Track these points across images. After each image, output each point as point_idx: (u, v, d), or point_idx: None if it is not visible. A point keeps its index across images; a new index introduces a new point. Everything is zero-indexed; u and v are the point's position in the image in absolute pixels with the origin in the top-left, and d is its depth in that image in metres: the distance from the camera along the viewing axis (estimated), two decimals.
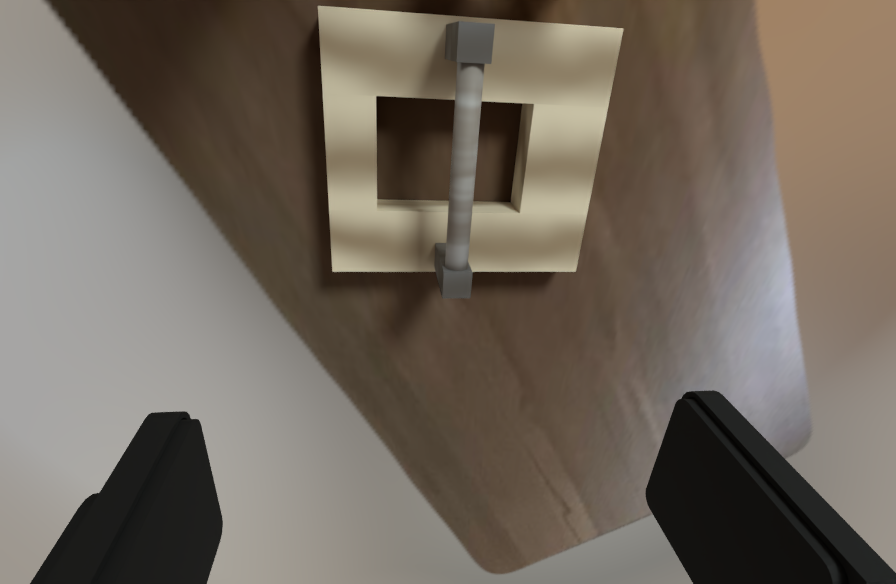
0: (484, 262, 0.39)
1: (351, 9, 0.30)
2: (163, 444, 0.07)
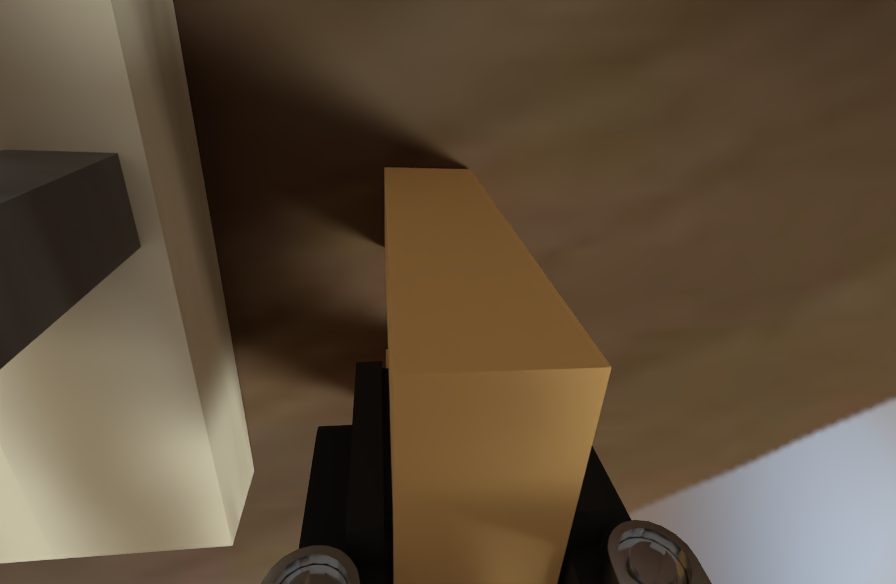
0: None
1: None
2: (380, 384, 0.09)
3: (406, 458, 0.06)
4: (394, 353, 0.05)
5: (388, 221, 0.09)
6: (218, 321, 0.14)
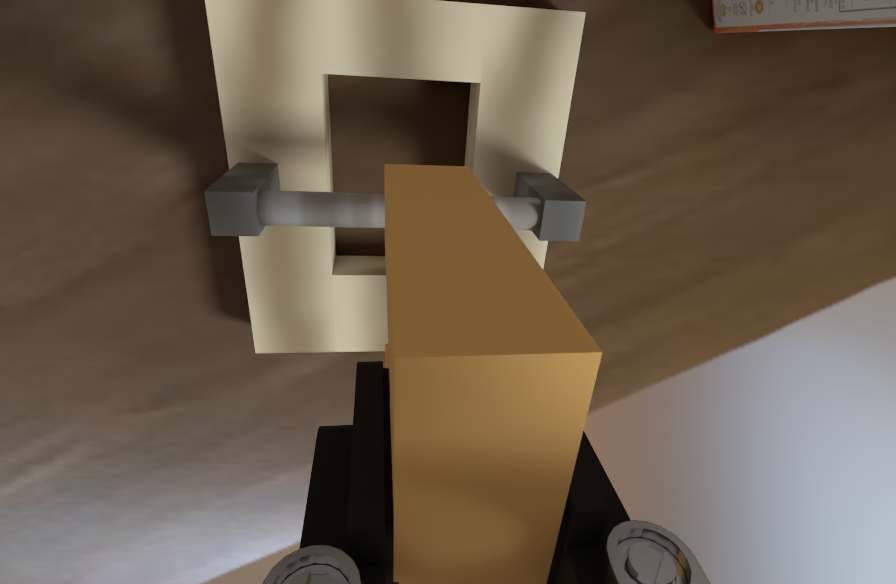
0: (254, 236, 0.27)
1: (576, 57, 0.25)
2: (380, 384, 0.09)
3: (406, 439, 0.06)
4: (395, 338, 0.06)
5: (388, 215, 0.10)
6: None
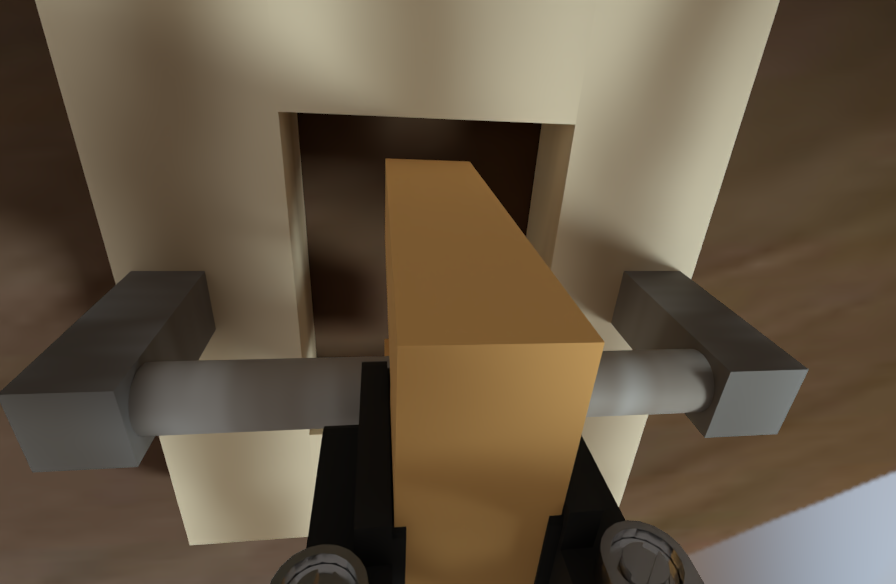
0: None
1: (752, 76, 0.14)
2: (385, 384, 0.09)
3: (407, 429, 0.06)
4: (397, 327, 0.06)
5: (390, 208, 0.10)
6: None
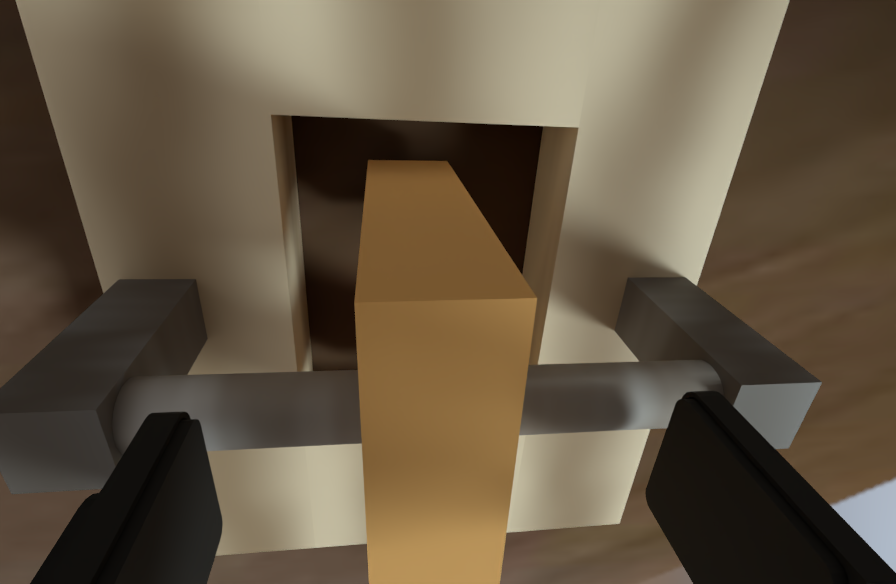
0: None
1: (761, 78, 0.13)
2: (163, 444, 0.07)
3: (369, 379, 0.07)
4: (356, 289, 0.07)
5: (365, 200, 0.10)
6: None
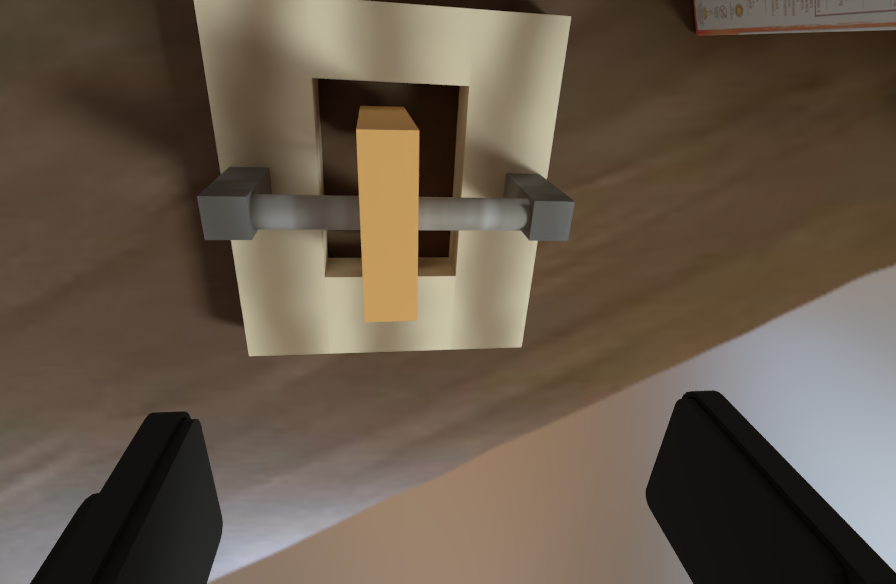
0: (246, 239, 0.27)
1: (563, 60, 0.25)
2: (163, 444, 0.07)
3: (361, 161, 0.19)
4: (356, 128, 0.19)
5: (359, 115, 0.23)
6: None
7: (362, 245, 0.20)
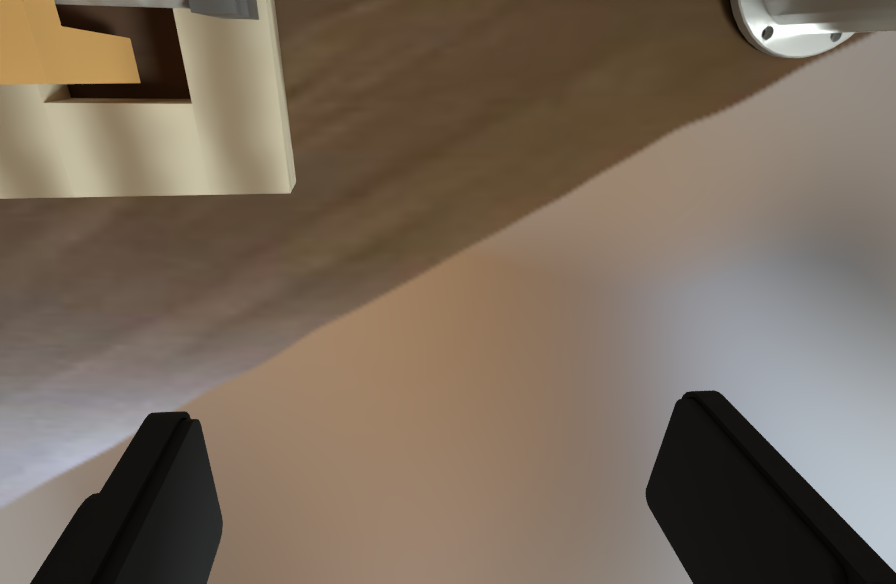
0: None
1: None
2: (163, 444, 0.07)
3: None
4: None
5: None
6: (281, 79, 0.31)
7: None
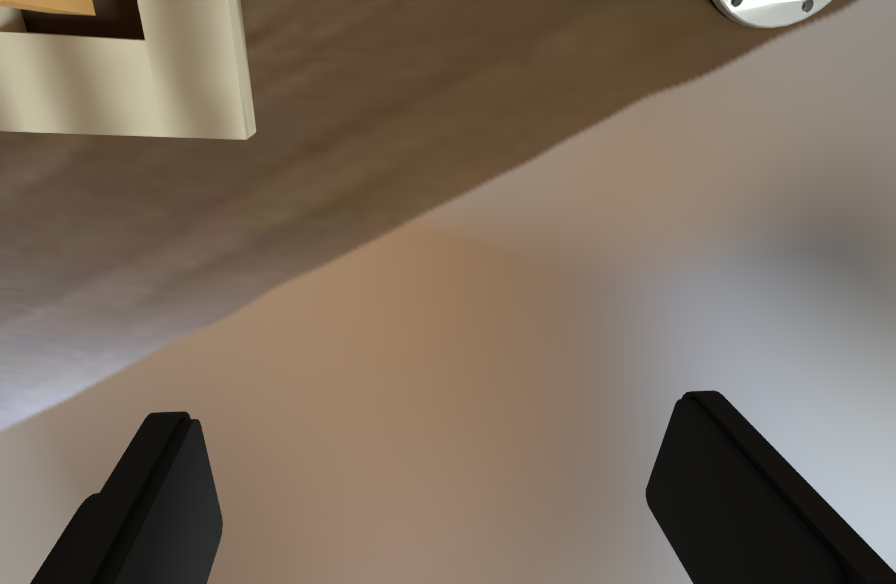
0: None
1: None
2: (163, 444, 0.07)
3: None
4: None
5: None
6: (240, 22, 0.31)
7: None
